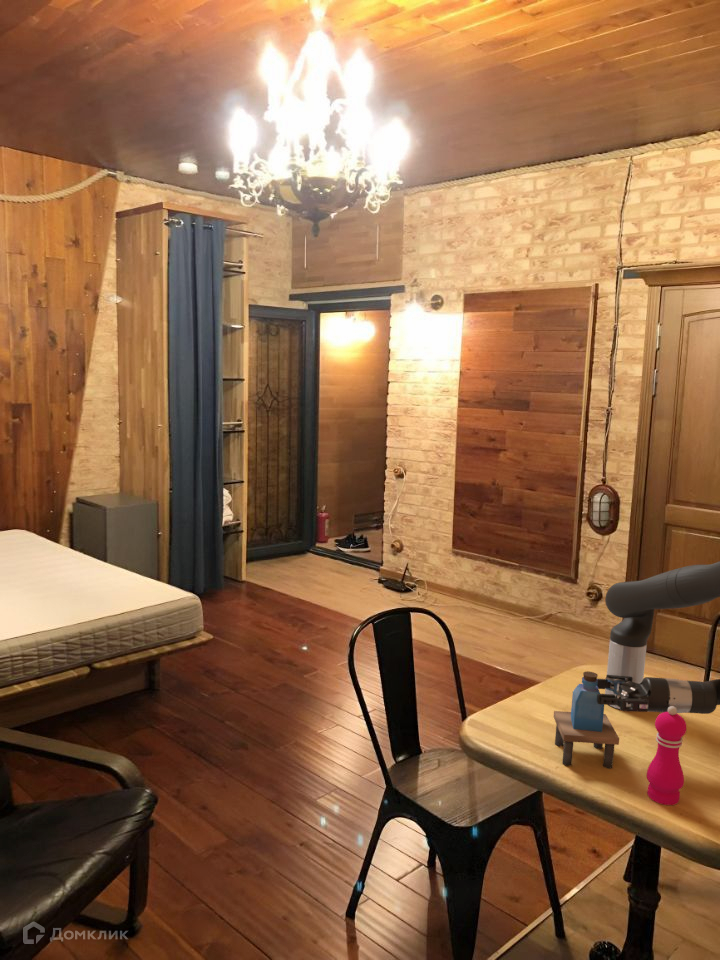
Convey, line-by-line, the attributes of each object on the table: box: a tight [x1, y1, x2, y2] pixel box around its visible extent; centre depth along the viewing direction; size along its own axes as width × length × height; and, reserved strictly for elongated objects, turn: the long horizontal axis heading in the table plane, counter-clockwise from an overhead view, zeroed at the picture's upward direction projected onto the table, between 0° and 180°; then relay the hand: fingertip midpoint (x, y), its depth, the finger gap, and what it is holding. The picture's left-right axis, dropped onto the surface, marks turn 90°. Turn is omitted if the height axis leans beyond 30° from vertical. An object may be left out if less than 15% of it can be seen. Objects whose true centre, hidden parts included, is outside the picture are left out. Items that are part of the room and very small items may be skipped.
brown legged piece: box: [553, 710, 620, 770], centre depth 179 cm, size 12×12×8 cm
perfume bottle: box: [570, 671, 605, 732], centre depth 178 cm, size 6×6×12 cm
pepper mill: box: [646, 706, 687, 806], centre depth 162 cm, size 7×7×20 cm
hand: (593, 690), depth 177 cm, fingers open, 8 cm apart
